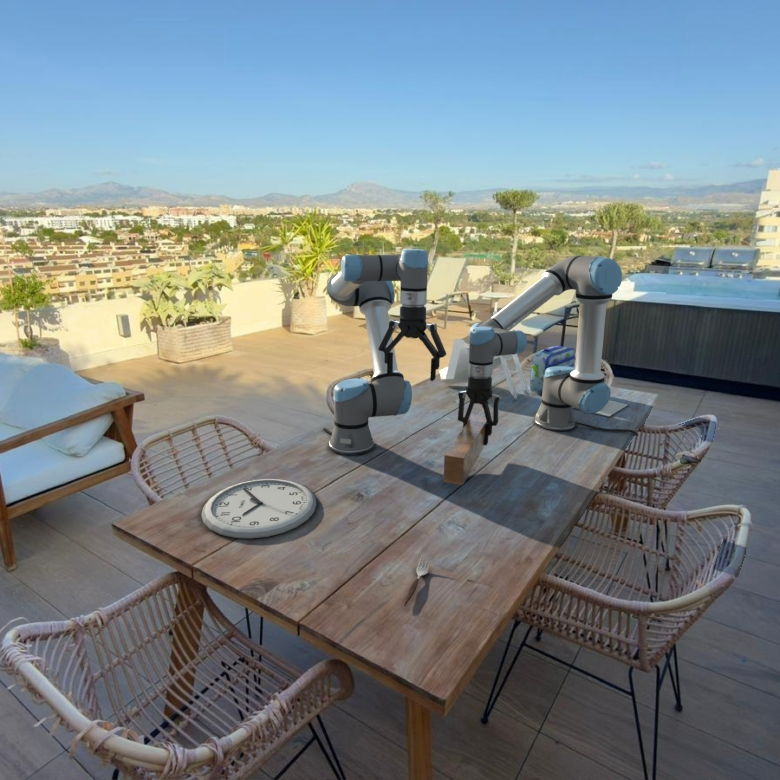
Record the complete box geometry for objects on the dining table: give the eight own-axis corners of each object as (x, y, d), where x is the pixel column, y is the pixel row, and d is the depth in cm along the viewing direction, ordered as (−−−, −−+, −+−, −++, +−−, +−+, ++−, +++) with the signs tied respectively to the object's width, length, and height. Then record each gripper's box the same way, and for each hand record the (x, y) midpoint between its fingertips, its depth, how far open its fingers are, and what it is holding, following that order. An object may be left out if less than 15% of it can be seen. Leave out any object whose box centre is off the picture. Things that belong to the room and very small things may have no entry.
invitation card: (608, 416, 214) (573, 407, 224) (608, 416, 214) (573, 408, 224) (628, 404, 229) (594, 396, 238) (628, 405, 229) (594, 397, 238)
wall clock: (313, 530, 128) (186, 534, 125) (313, 536, 128) (187, 540, 125) (318, 474, 156) (215, 477, 154) (318, 479, 157) (216, 482, 154)
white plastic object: (461, 429, 252) (437, 405, 227) (444, 352, 274) (420, 323, 250) (535, 404, 240) (518, 377, 215) (510, 326, 262) (492, 293, 237)
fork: (398, 606, 105) (398, 598, 104) (421, 561, 119) (421, 553, 119) (410, 610, 104) (410, 601, 103) (432, 564, 118) (432, 556, 118)
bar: (471, 437, 179) (472, 414, 177) (487, 440, 177) (489, 416, 175) (443, 482, 149) (444, 455, 147) (462, 485, 147) (463, 458, 145)
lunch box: (546, 399, 235) (551, 353, 228) (525, 393, 242) (530, 349, 236) (574, 387, 252) (579, 345, 246) (553, 383, 260) (558, 341, 253)
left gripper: (367, 304, 150) (367, 375, 156) (452, 310, 141) (448, 385, 148) (378, 300, 157) (377, 369, 163) (459, 306, 148) (455, 378, 154)
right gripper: (448, 375, 167) (446, 442, 174) (507, 382, 161) (502, 451, 168) (454, 369, 174) (452, 434, 181) (511, 375, 167) (506, 442, 174)
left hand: (411, 377), depth 155 cm, fingers open, 13 cm apart
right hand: (476, 442), depth 174 cm, fingers closed on bar, 6 cm apart
